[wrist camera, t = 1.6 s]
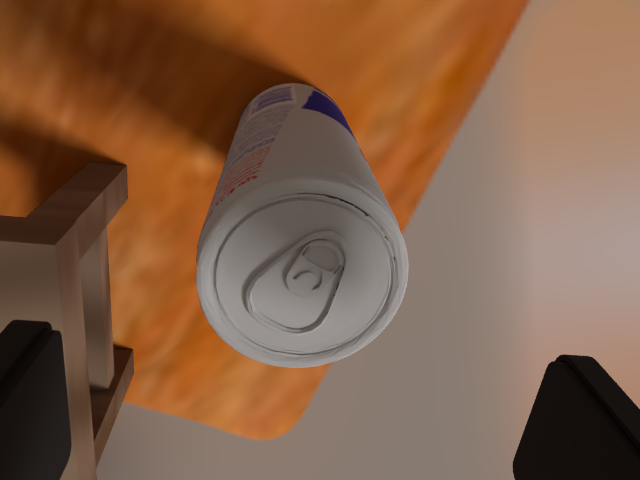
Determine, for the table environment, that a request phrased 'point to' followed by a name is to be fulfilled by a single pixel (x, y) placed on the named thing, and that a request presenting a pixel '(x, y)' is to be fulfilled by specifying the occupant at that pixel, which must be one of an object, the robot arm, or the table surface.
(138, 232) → the table surface
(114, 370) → the stool
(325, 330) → the beverage can
